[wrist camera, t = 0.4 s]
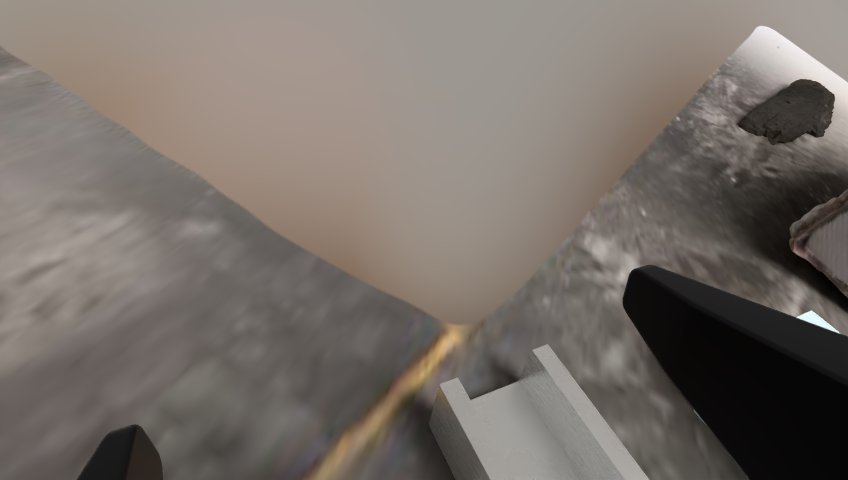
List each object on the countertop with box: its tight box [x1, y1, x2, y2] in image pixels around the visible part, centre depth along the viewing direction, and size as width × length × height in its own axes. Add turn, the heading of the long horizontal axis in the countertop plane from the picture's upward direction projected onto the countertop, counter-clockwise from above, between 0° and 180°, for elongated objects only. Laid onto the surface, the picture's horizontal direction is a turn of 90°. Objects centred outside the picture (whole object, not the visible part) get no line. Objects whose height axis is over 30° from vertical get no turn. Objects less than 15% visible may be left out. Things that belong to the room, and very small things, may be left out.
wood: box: [739, 79, 835, 145], centre depth 61 cm, size 22×7×3 cm, turn 132°
